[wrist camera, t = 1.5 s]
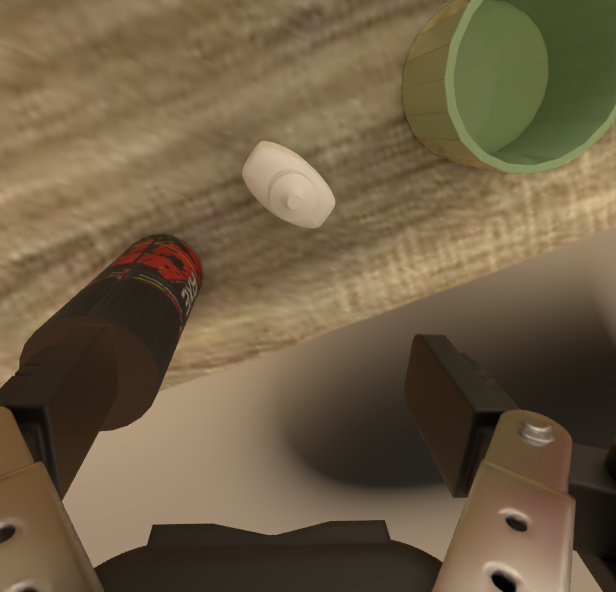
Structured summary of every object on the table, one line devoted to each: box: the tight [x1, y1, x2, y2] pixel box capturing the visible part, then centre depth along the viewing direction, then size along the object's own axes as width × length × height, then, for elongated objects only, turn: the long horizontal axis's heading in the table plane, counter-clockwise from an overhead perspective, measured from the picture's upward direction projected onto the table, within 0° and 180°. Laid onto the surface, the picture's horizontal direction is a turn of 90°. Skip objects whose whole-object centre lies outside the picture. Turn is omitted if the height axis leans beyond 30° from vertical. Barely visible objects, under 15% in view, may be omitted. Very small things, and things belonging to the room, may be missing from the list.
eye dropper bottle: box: [242, 141, 335, 228], centre depth 26 cm, size 4×6×12 cm
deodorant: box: [19, 235, 203, 431], centre depth 27 cm, size 6×6×15 cm
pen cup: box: [402, 0, 616, 174], centre depth 27 cm, size 11×11×8 cm
